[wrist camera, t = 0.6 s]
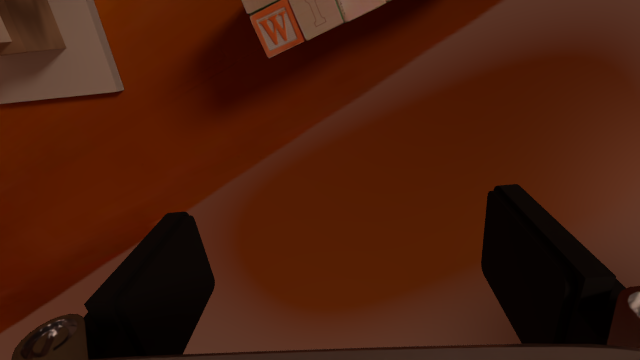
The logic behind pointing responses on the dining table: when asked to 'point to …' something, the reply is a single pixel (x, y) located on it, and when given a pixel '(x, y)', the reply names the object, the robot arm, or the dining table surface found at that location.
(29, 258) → the dining table surface
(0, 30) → the middle block
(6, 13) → the base block
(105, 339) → the robot arm
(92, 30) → the grey board
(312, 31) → the stack of blocks
